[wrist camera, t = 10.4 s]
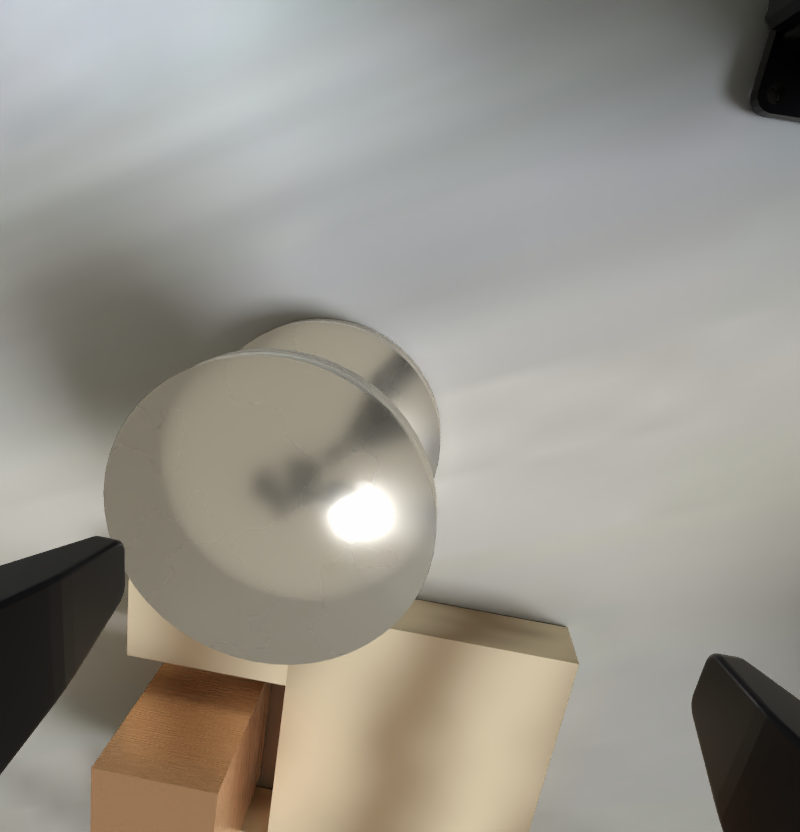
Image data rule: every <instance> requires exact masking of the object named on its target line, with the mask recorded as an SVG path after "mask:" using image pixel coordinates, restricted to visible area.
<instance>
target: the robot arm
mask: <svg viewBox="0 0 800 832" xmlns="http://www.w3.org/2000/svg"><path fill="white" fill-rule="evenodd" d="M765 21H766V24H767V27H768V29H769V30H770V33H769V37H768V40H767V43H766V47H765V50H764V53H763V57H762V60H761V63H760V67H759V70H758V73H757V77H756V80H755V83H754V87H753V90H752V93H751V100H750V103H751V106H752V109H753V110H754V112H755V113H756V114H758V115H760V116H763V117H769V118H775V119H782V120H788V121H795V122H800V0H770V3H769V6H768V10H767V13H766V16H765ZM770 87H773V88H775V89H777V91H778V93H779V95H778V100H777V102H776V103H775V104H773V103H771V102H769V101H768V99H767V92H768V90H769V88H770ZM124 588H125V549H124V545H123V543H122V542H121V541H120V540H116V539H110V538H105V537H100V536H94V537H91V538H87V539H84V540H81V541H78V542H75V543H71V544H68V545H65V546H62V547H59V548H55V549H52V550H49V551H46V552H43V553H39V554H36V555H33V556H30V557H26V558H23V559H20V560H17V561H14V562H10V563H7V564H4V565H1V566H0V774H1V773H2V772H3V771H4V769H5V768H6V767H7V765H8V764H9V763H10V761H11V760H12V759H13V757H14V756H15V755H16V754H17V752H18V751H19V750H20V748H21V747H22V746H23V744H24V743H25V742H26V740H27V739H28V738H29V737H30V735H31V734H32V733H33V731H34V730H35V729H36V727H37V726H38V725H39V723H40V722H41V721H42V720H43V718H44V717H45V716H46V714H47V713H48V712H49V710H50V709H51V708H52V707H53V705H54V704H55V703H56V701H57V700H58V698H59V697H60V696H61V694H62V693H63V692H64V690H65V689H66V687H67V686H68V684H69V683H70V681H71V680H72V678H73V677H74V675H75V674H76V672H77V671H78V669H79V667H80V666H81V664H82V662H83V661H84V659H85V658H86V656H87V654H88V653H89V651H90V650H91V648H92V646H93V645H94V643H95V641H96V640H97V638H98V637H99V635H100V633H101V632H102V630H103V629H104V627H105V625H106V624H107V622H108V620H109V619H110V617H111V616H112V614H113V612H114V611H115V609H116V608H117V606H118V604H119V603H120V601H121V598H122V596H123V593H124ZM692 714H693V719H694V723H695V727H696V731H697V735H698V739H699V743H700V747H701V751H702V755H703V759H704V762H705V766H706V770H707V774H708V778H709V782H710V786H711V790H712V794H713V798H714V802H715V806H716V809H717V813H718V816H719V820H720V823H721V826H722V829H723V832H800V700H799V699H797V698H796V697H795V696H793V695H792V694H791V693H789V692H788V691H786V690H785V689H784V688H782V687H781V686H780V685H778V684H777V683H775V682H774V681H773V680H771V679H770V678H769V677H767V676H766V675H765V674H763V673H762V672H760V671H759V670H758V669H756V668H755V667H754V666H752V665H751V664H749V663H748V662H747V661H745V660H744V659H741V658H739V657H734V656H728V655H723V654H717V653H715V654H712V655H710V656H709V657H708V659H707V661H706V663H705V665H704V668H703V671H702V673H701V676H700V678H699V681H698V684H697V686H696V689H695V691H694V694H693V698H692Z"/></svg>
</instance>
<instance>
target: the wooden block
mask: <svg viewBox="0 0 800 832" xmlns="http://www.w3.org/2000/svg"><path fill="white" fill-rule="evenodd" d="M270 691H271V683H269V682H264V681H258V680H253V679H248V678H243V677H238V676H233V675H227V674H222V673H217V672H212V671H207V670H202V669H196V668H191V667H186V666H181V665H176V664H171V663H165V662H164V663H163V665H162V666H161V668H160V669H159V671H158V672H157V674H156V675H155V676H154V678H153V679H152V681H151V682H150V684H149V685H148V687H147V688H146V689H145V691H144V692H143V694H142V695H141V697H140V698H139V700H138V701H137V703H136V704H135V705H134V707H133V708H132V710H131V711H130V713H129V714H128V716H127V717H126V718H125V720H124V721H123V723H122V724H121V726H120V727H119V729H118V730H117V732H116V733H115V734H114V736H113V737H112V739H111V740H110V742H109V743H108V745H107V746H106V747H105V749H104V750H103V752H102V753H101V755H100V756H99V758H98V759H97V761H96V762H95V763H94V765H93V766H92V768H91V832H240V830H241V827H242V824H243V821H244V818H245V816H246V813H247V810H248V807H249V804H250V802H251V799H252V796H253V793H254V791H255V788H256V785H257V782H258V779H259V777H260V773H261V765H262V757H263V749H264V740H265V732H266V724H267V716H268V708H269V700H270Z"/></svg>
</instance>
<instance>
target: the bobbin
mask: <svg viewBox="0 0 800 832" xmlns="http://www.w3.org/2000/svg"><path fill="white" fill-rule="evenodd" d="M439 452H440V420H439V413H438V408H437V405H436V402H435V398H434V395H433V393H432V391H431V388H430V386H429V384H428V382H427V380H426V379H425V377H424V375H423V374H422V372H421V370H420V369H419V368H418V366H417V365H416V364H415V363H414V362H413V360H412V359H411V358H410V357H409V356H408V355H407V354H406V353H405V352H404V351H403V350H402V349H401V348H400V347H399V346H397V345H396V344H395V343H393V342H392V341H391V340H389V339H388V338H386V337H385V336H383V335H381V334H379V333H377V332H376V331H374V330H372V329H370V328H367V327H364V326H362V325H359V324H356V323H352V322H348V321H344V320H337V319H328V318H320V319H306V320H300V321H295V322H292V323H288V324H285V325H282V326H279V327H277V328H275V329H273V330H271V331H269V332H267V333H265V334H262V335H260V336H258V337H257V338H255V339H254V340H252V341H251V342H249V343H248V344H246V345H245V346H244V347H243V348H241V349H240V350H239V351H235V352H230V353H226V354H223V355H220V356H217V357H213V358H210V359H208V360H206V361H204V362H202V363H199V364H197V365H195V366H193V367H191V368H189V369H187V370H185V371H182V372H180V373H178V374H176V375H174V376H172V377H171V378H169V379H168V380H166V381H165V382H163V383H162V384H160V385H159V386H157V387H156V388H154V389H153V390H152V391H151V392H150V393H149V394H148V395H147V396H146V397H145V398H144V399H142V400H141V401H140V402H139V404H138V405H137V406H136V407H135V408H134V410H133V411H132V412H131V413H130V415H129V416H128V417H127V419H126V420H125V422H124V424H123V426H122V427H121V429H120V431H119V432H118V434H117V436H116V439H115V441H114V444H113V446H112V449H111V452H110V454H109V459H108V463H107V467H106V472H105V482H104V508H105V516H106V521H107V526H108V531H109V535H110V538H111V539H116V540H120V541H121V542H122V543H123V545H124V549H125V572H126V574H127V575H128V577H129V579H130V580H131V582H132V583H133V585H134V586H135V588H136V589H137V590H138V591H139V593H140V594H141V595H142V596H143V598H144V599H145V600H146V601H147V603H148V604H150V605H151V606H152V607H153V608H154V609H155V610H156V611H157V612H158V613H159V614H160V615H161V616H162V617H163V618H164V619H165V620H167V621H168V622H169V623H170V624H172V625H173V626H174V627H175V628H177V629H178V630H179V631H181V632H183V633H184V634H186V635H187V636H189V637H191V638H192V639H194V640H195V641H197V642H199V643H201V644H203V645H205V646H207V647H209V648H211V649H214V650H216V651H219V652H222V653H224V654H227V655H230V656H232V657H236V658H240V659H244V660H248V661H252V662H259V663H266V664H276V665H298V664H309V663H316V662H321V661H325V660H330V659H334V658H337V657H340V656H343V655H345V654H348V653H351V652H353V651H355V650H357V649H359V648H361V647H363V646H365V645H367V644H369V643H370V642H372V641H373V640H375V639H376V638H378V637H379V636H381V635H382V634H384V633H385V632H386V631H387V630H388V629H389V628H391V627H392V626H393V625H394V624H395V623H396V622H397V621H398V620H399V619H400V618H401V617H402V616H403V615H404V613H405V612H406V611H407V610H408V609H409V607H410V606H411V605H412V603H413V601H414V600H415V598H416V597H417V595H418V594H419V592H420V590H421V588H422V586H423V584H424V581H425V579H426V577H427V575H428V572H429V568H430V565H431V561H432V558H433V554H434V546H435V538H436V524H437V495H436V489H435V483H434V477H435V473H436V469H437V465H438V460H439Z"/></svg>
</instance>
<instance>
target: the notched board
mask: <svg viewBox="0 0 800 832" xmlns="http://www.w3.org/2000/svg"><path fill="white" fill-rule="evenodd" d="M127 655H129V656H134V657H140V658H145V659H150V660H155V661H160V662H165V663H171V664H176V665H181V666H186V667H191V668H196V669H202V670H207V671H212V672H217V673H222V674H227V675H233V676H238V677H243V678H248V679H253V680H258V681H264V682H269V683H274V684H279V685H284V686H285V694H284V702H283V710H282V719H281V727H280V735H279V743H278V751H277V759H276V767H275V776H274V784H273V790H271V789H266V788H261V787H256V788H255V791H254V793H253V796H252V799H251V802H250V804H249V807H248V810H247V813H246V816H245V818H244V821H243V824H242V827H241V830H240V832H529V829H530V826H531V823H532V819H533V816H534V813H535V809H536V806H537V803H538V799H539V796H540V793H541V789H542V786H543V783H544V779H545V776H546V773H547V770H548V766H549V763H550V760H551V756H552V753H553V750H554V746H555V743H556V740H557V736H558V733H559V730H560V726H561V723H562V720H563V716H564V713H565V710H566V706H567V703H568V700H569V696H570V693H571V690H572V686H573V683H574V680H575V676H576V673H577V670H578V666H579V662H578V659H577V656H576V653H575V649H574V646H573V643H572V640H571V637H570V633H569V630H568V628H567V627H562V626H556V625H551V624H546V623H540V622H535V621H530V620H524V619H519V618H514V617H508V616H503V615H498V614H492V613H487V612H482V611H476V610H471V609H465V608H460V607H455V606H449V605H444V604H439V603H433V602H428V601H423V600H417V599H415V600H414V601H413V603H412V605H411V606H410V607H409V609H408V610H407V611H406V612H405V613H404V615H403V616H402V617H401V618H400V619H399V620H398V621H397V622H396V623H395V624H394V625H393V626H392V627H391V628H389V629H388V630H387V631H386V632H385V633H384V634H382V635H381V636H379V637H378V638H376V639H375V640H373V641H372V642H370V643H369V644H367V645H365V646H363V647H361V648H359V649H357V650H355V651H353V652H351V653H348V654H345V655H343V656H340V657H337V658H334V659H330V660H325V661H321V662H316V663H309V664H298V665H276V664H266V663H259V662H252V661H248V660H244V659H240V658H236V657H232V656H230V655H227V654H224V653H222V652H219V651H216V650H214V649H211V648H209V647H207V646H205V645H203V644H201V643H199V642H197V641H195V640H194V639H192V638H191V637H189V636H187V635H186V634H184V633H183V632H181V631H179V630H178V629H177V628H175V627H174V626H173V625H172V624H170V623H169V622H168V621H167V620H165V619H164V618H163V617H162V616H161V615H160V614H159V613H158V612H157V611H156V610H155V609H154V608H153V607H152V606H151V605H150V604H148V603H147V601H146V600H145V599H144V598H143V596H142V595H141V594H140V593H139V591H138V590H137V589H136V588H135V586H134V585H133V583H132V582H131V580H130V579H129V585H128V626H127Z"/></svg>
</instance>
